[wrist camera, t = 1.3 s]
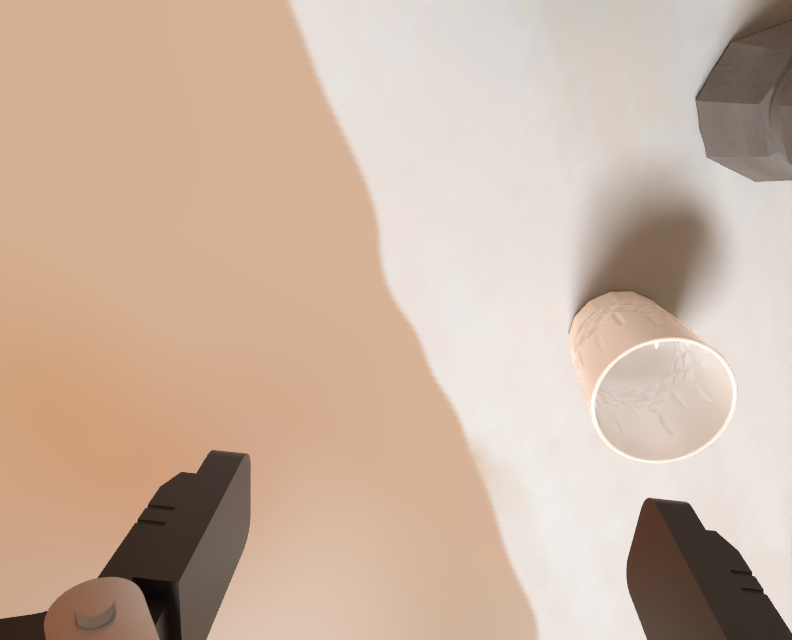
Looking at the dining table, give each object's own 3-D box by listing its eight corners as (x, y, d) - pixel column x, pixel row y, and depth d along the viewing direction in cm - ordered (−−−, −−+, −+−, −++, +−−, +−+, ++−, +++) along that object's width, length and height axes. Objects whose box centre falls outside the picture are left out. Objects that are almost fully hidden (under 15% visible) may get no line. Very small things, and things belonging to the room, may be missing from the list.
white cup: (614, 259, 42) (664, 309, 33) (698, 326, 43) (769, 393, 34) (536, 343, 45) (561, 412, 35) (618, 404, 46) (663, 487, 37)
